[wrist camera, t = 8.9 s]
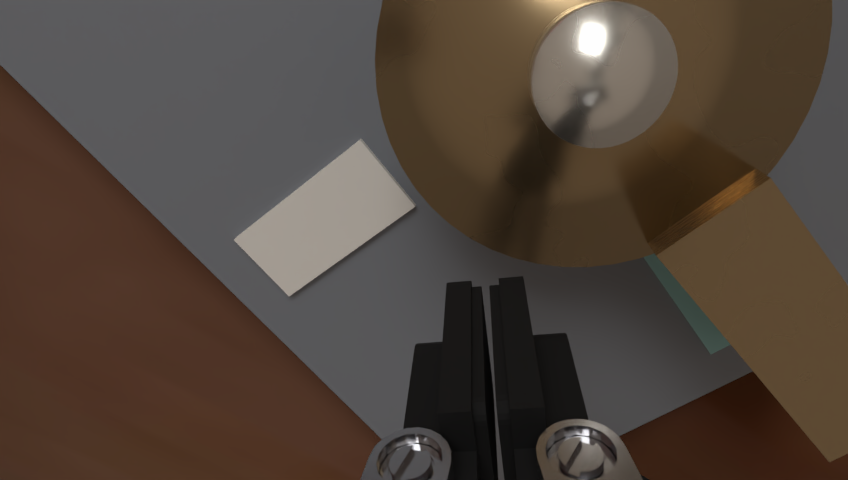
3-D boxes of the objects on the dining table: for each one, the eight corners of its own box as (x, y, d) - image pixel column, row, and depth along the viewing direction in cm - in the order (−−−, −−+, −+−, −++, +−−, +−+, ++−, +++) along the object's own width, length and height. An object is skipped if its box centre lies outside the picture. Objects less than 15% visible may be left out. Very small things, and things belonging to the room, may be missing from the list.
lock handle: (325, 38, 14) (272, 62, 10) (605, -257, 11) (681, -382, 7) (665, 404, 18) (722, 523, 14) (931, 251, 15) (1092, 345, 11)
